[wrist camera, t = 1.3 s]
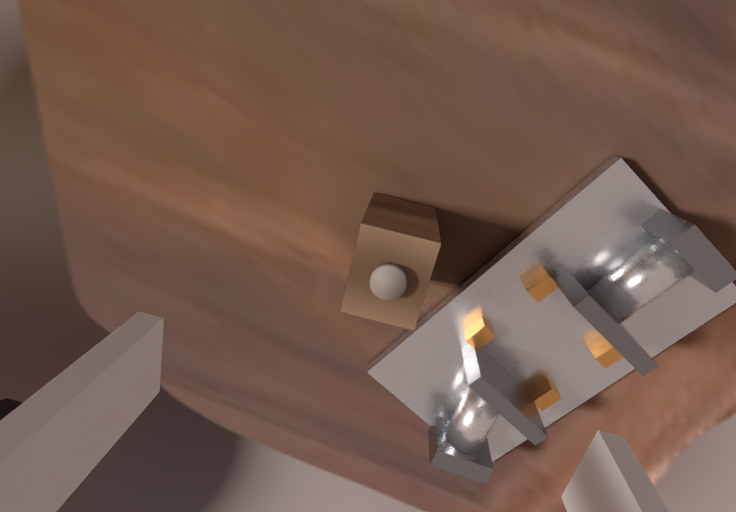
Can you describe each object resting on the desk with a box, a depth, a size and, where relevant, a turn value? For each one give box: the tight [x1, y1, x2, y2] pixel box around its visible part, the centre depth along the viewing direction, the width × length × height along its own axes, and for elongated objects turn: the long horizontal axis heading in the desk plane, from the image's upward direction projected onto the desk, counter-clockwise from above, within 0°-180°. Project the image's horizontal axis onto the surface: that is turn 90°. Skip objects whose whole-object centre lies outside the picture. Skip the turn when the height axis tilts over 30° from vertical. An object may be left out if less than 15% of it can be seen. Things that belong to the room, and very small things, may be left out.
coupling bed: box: [367, 155, 736, 462], centre depth 27 cm, size 21×12×5 cm, turn 137°
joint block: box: [340, 193, 441, 330], centre depth 25 cm, size 5×4×8 cm
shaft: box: [429, 386, 499, 484], centre depth 30 cm, size 6×4×3 cm
